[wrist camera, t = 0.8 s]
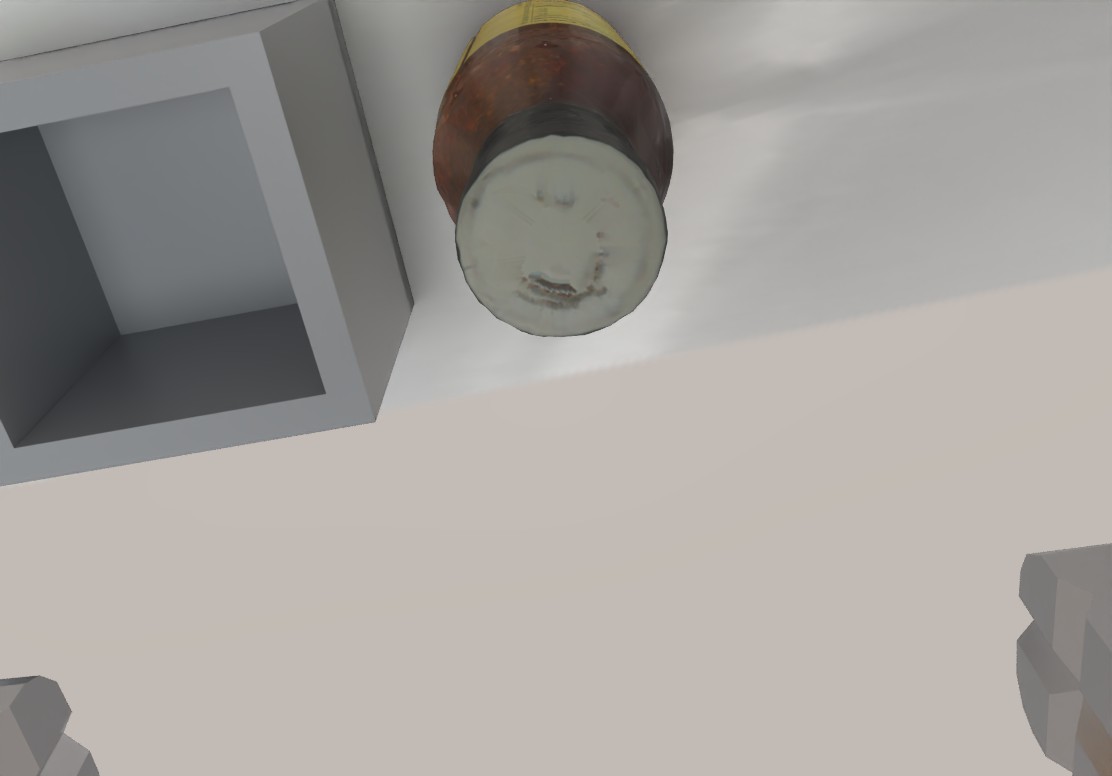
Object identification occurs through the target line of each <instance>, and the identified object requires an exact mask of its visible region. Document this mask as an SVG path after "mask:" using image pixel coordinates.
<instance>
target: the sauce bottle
mask: <svg viewBox="0 0 1112 776" xmlns="http://www.w3.org/2000/svg"><path fill="white" fill-rule="evenodd" d="M433 167H434V176H435V181H436V185H437V189H438V191H439V193H440V195H441V197H442V198H443V200H444V201H445V204H446V207H447V209H448V212H449V215H450V217H451V218H452V220H453V222H454V223H455V224H456V228H455V243H456V249H457V256H458V261H459V263H460V266H461V268H462V270H463V273H464V277H465V280H466V282H467V284H468V285H469V287H470V289H471V291H472V292H473V293H474V295H475V297H476V298H477V300H478V301H479V302H480V303H481V304H482V305H484V306H485V307H486V308H487V309H488V310H489V311H490V312H491V313H492V314H493V315H494V316H495V317H496V318H497V319H499V320H502V321H504V322H506V323H508V324H510V325H511V326H513V327H515V328H517V329H518V330H520V331H523V332H526V333H528V334H531V335H537V336H543V337H547V336H554V337H567V336H577V335H586V334H589V333H592V332H595V331H598V330H601V329H603V328H605V327H608V326H610V325H612V324H613V323H615V322H616V321H618V320H619V319H621V318H622V317H624V316H626V315H627V314H629V313H631V312H633V311H634V309H635V308H636V307H637V306H638V305H639V304H640V303H641V302H642V301H643V300H644V299H645V297H646V296H647V294H648V293H649V291H650V290H651V288H652V286H653V284H654V282H655V280H656V279H657V277H658V274H659V271H660V268H661V265H662V262H663V259H664V254H665V249H666V245H667V236H668V231H667V223H666V217H665V213H664V208H663V206H662V204H663V202H664V199H665V197H666V194H667V191H668V188H669V184H670V179H671V175H672V168H673V140H672V134H671V127H670V121H669V118H668V115H667V112H666V109H665V106H664V103H663V101H662V99H661V97H660V95H659V93H658V91H657V88H656V86H655V85H654V83H653V82H652V80H651V78H650V77H649V75H648V74H647V72H646V71H645V69H644V68H643V66H642V65H641V63H640V62H639V60H638V58H637V57H636V56H635V54H634V53H633V52H632V50H631V49H630V48H629V47H628V46H627V44H626V43H625V42H624V41H623V40H622V39H621V37H620V36H619V35H618V34H617V32H616V31H615V30H614V29H613V28H612V26H610V25H609V24H608V23H607V22H606V21H605V20H604V19H603V18H602V17H600V16H599V15H598V14H596V13H595V12H593V11H591V10H590V9H588V8H586V7H585V6H583V5H581V4H578V3H574V2H570V1H565V0H530V1H526V2H522V3H519V4H516V5H513V6H510V7H509V8H507V9H505V10H503V11H501V12H499V13H498V14H496V15H495V16H493V17H492V18H491V19H490V20H488V21H487V22H486V23H485V24H484V25H482V27H481V29H480V31H479V32H478V34H477V35H476V37H473V38H472V39H471V41H470V42H469V44H468V46H467V47H466V49H465V51H464V53H463V55H462V57H461V59H460V61H459V63H458V65H457V67H456V69H455V72H454V74H453V76H452V78H451V80H450V83H449V85H448V87H447V89H446V92H445V94H444V96H443V99H442V102H441V105H440V108H439V112H438V118H437V123H436V130H435V136H434V141H433Z"/></svg>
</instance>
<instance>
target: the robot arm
mask: <svg viewBox="0 0 1112 776" xmlns="http://www.w3.org/2000/svg"><path fill="white" fill-rule="evenodd" d="M1019 597H1020V598H1021V600H1022V602H1023V603H1024V605H1025V606H1026V608H1027V609H1028V611H1029V613H1030V614H1031V616H1032V617H1033V619H1034V620H1033V622H1032V623H1031V624H1030V625H1029V626H1028V628H1027V629H1026V630H1025V631H1024V632H1023V634H1022V635H1021V636H1020V637H1019V638H1018V640H1017V678H1018V684H1019V689H1020V694H1021V699H1022V704H1023V708H1024V711H1025V713H1026V716H1027V719H1028V721H1029V724H1030V727H1031V729H1032V732H1033V734H1034V736H1035V738H1036V739H1037V741H1038V743H1039V745H1040V747H1041V748H1042V750H1043V752H1044V754H1045V756H1046V757H1048V758H1049V759H1051V760H1052V761H1054V762H1056V763H1058V764H1059V765H1061V766H1062V767H1064V768H1066V769H1067V770H1069V771H1071V772H1072V773H1073V776H1112V543H1111V544H1102V545H1095V546H1087V547H1080V548H1072V549H1063V550H1056V551H1048V552H1040V553H1033V554H1027V555H1026V557H1025V560H1024V562H1023V565H1022V568H1021V572H1020V588H1019ZM71 712H72V711H71V709H70V707H69V705H68V703H67V701H66V699H65V697H64V695H63V693H62V691H61V689H60V687H59V685H58V683H57V682H56V681H53V680H51V679H48V678H45V677H42V676H30V677H21V678H10V679H0V776H99V772H98V769H97V767H96V765H95V763H94V760H93V758H92V756H91V753H90V751H89V750H88V749H86V748H85V747H83V746H82V745H80V744H79V743H77V742H76V741H74V740H73V739H71V738H70V737H69V736H67V735H66V734H64V730H65V727H66V724H67V722H68V720H69V717H70V715H71Z"/></svg>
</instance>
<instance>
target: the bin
mask: <svg viewBox="0 0 1112 776" xmlns="http://www.w3.org/2000/svg"><path fill="white" fill-rule="evenodd" d="M413 306H414V301H413V297H412V293H411V290H410V286H409V282H408V278H407V275H406V271H405V267H404V263H403V259H402V256H401V252H400V248H399V244H398V241H397V237H396V233H395V229H394V225H393V222H392V218H391V214H390V210H389V207H388V203H387V199H386V195H385V191H384V188H383V184H382V180H381V176H380V173H379V169H378V165H377V161H376V157H375V154H374V150H373V146H372V142H371V138H370V135H369V131H368V127H367V123H366V120H365V116H364V112H363V108H362V104H361V101H360V97H359V93H358V89H357V86H356V82H355V78H354V74H353V70H352V67H351V63H350V59H349V55H348V52H347V48H346V44H345V40H344V36H343V33H342V29H341V25H340V21H339V18H338V14H337V10H336V6H335V2H334V0H298V1H293V2H288V3H283V4H278V5H273V6H268V7H263V8H259V9H254V10H249V11H244V12H239V13H234V14H229V15H224V16H220V17H215V18H210V19H205V20H200V21H195V22H190V23H185V24H181V25H176V26H171V27H166V28H161V29H156V30H151V31H147V32H142V33H137V34H132V35H127V36H122V37H117V38H112V39H108V40H103V41H98V42H93V43H88V44H83V45H78V46H73V47H69V48H64V49H59V50H54V51H49V52H44V53H39V54H34V55H30V56H25V57H20V58H15V59H10V60H5V61H0V486H5V485H11V484H17V483H23V482H29V481H35V480H40V479H46V478H52V477H58V476H64V475H70V474H75V473H81V472H87V471H93V470H99V469H105V468H110V467H116V466H122V465H128V464H134V463H140V462H145V461H151V460H157V459H163V458H169V457H175V456H181V455H186V454H192V453H198V452H204V451H210V450H216V449H221V448H227V447H233V446H239V445H245V444H251V443H256V442H262V441H268V440H274V439H279V438H286V437H291V436H297V435H303V434H309V433H315V432H321V431H326V430H332V429H338V428H344V427H350V426H356V425H361V424H367V423H373V422H375V421H376V418H377V415H378V412H379V409H380V406H381V403H382V400H383V397H384V394H385V391H386V388H387V385H388V382H389V379H390V376H391V373H392V370H393V367H394V364H395V361H396V358H397V354H398V351H399V348H400V345H401V342H402V339H403V336H404V333H405V330H406V327H407V324H408V321H409V318H410V315H411V312H412V309H413Z"/></svg>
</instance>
